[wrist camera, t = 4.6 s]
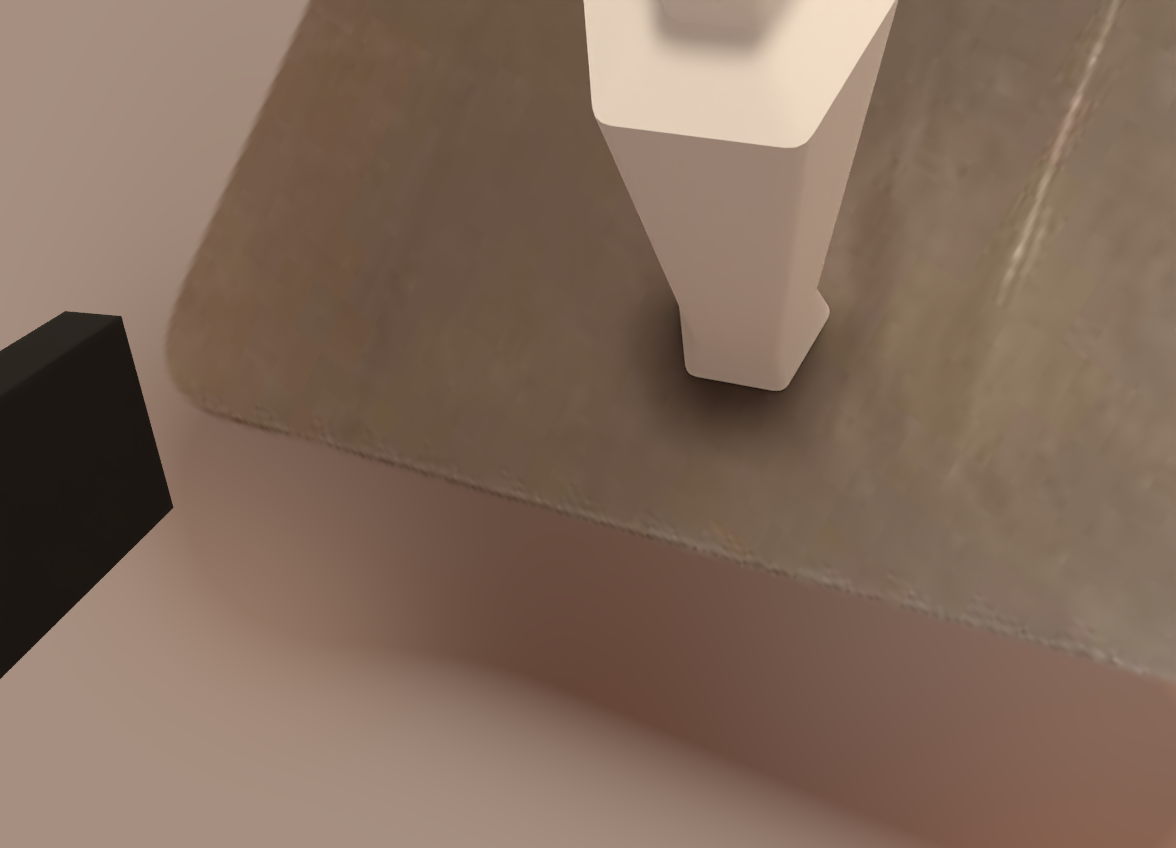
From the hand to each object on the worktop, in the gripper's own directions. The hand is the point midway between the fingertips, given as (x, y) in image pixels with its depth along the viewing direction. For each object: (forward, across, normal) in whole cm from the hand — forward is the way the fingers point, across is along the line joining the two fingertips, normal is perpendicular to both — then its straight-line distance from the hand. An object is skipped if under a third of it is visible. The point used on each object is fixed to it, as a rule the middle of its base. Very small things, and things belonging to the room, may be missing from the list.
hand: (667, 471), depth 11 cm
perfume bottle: (+15, 0, -5) cm, 16 cm away
